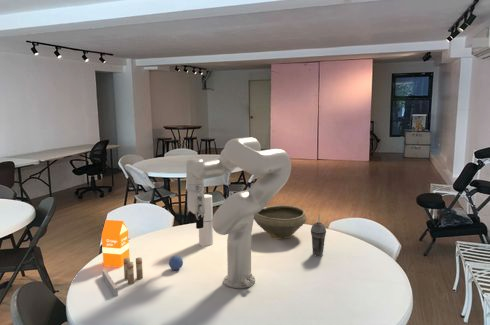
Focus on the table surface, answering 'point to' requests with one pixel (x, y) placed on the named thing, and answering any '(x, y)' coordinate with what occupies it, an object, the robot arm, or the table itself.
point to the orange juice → (115, 243)
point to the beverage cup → (318, 238)
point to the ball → (175, 262)
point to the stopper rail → (110, 282)
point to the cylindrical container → (207, 223)
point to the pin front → (139, 268)
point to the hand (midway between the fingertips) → (195, 224)
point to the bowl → (280, 220)
